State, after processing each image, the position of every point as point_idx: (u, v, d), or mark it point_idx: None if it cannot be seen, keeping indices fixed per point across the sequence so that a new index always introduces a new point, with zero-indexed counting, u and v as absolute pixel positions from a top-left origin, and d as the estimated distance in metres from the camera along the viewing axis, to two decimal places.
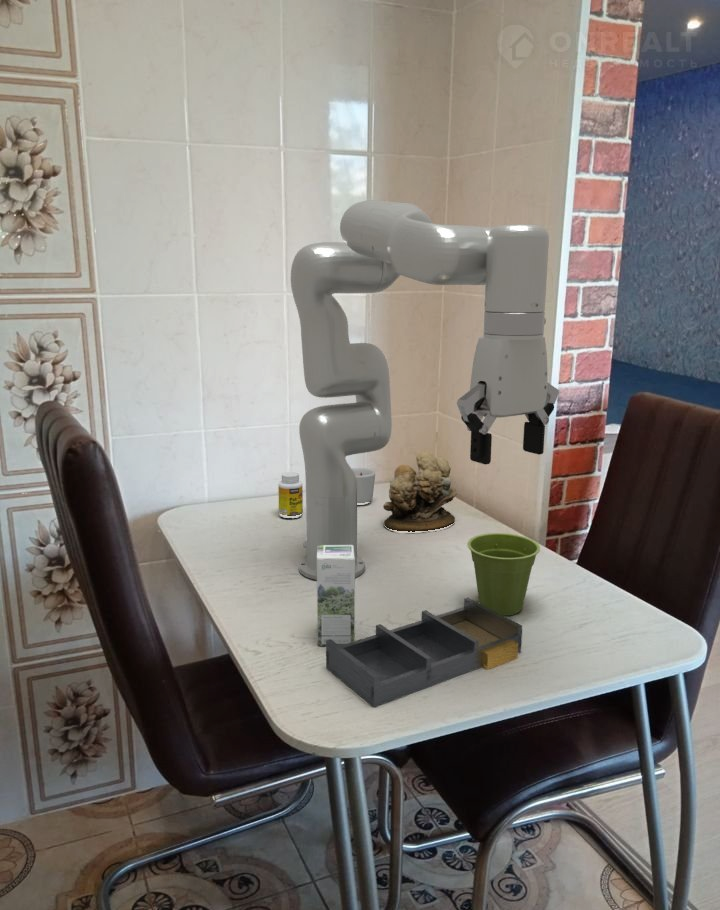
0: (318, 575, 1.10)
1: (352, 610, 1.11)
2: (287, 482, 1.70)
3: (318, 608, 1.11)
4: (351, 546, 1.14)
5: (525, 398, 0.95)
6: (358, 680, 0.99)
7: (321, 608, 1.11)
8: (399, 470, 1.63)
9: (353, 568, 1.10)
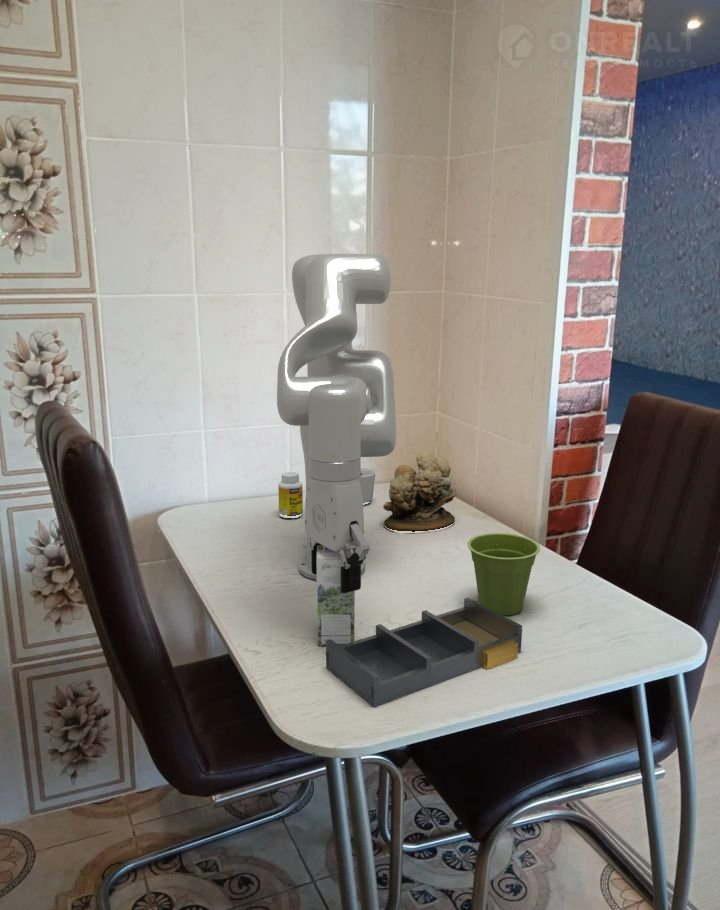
0: (318, 575, 1.10)
1: (352, 610, 1.11)
2: (287, 482, 1.70)
3: (318, 608, 1.11)
4: None
5: None
6: (358, 680, 0.99)
7: (321, 607, 1.11)
8: (399, 470, 1.63)
9: None
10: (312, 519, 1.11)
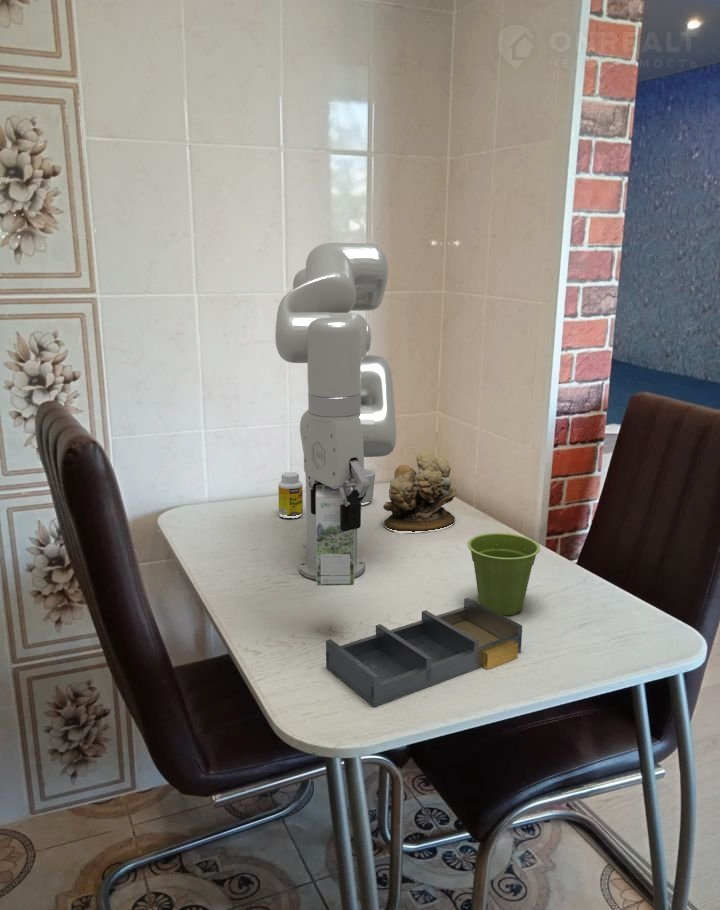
0: (317, 513, 1.09)
1: (351, 549, 1.10)
2: (287, 482, 1.70)
3: (317, 547, 1.10)
4: None
5: None
6: (358, 680, 0.99)
7: (320, 547, 1.10)
8: (399, 470, 1.63)
9: None
10: (311, 457, 1.09)
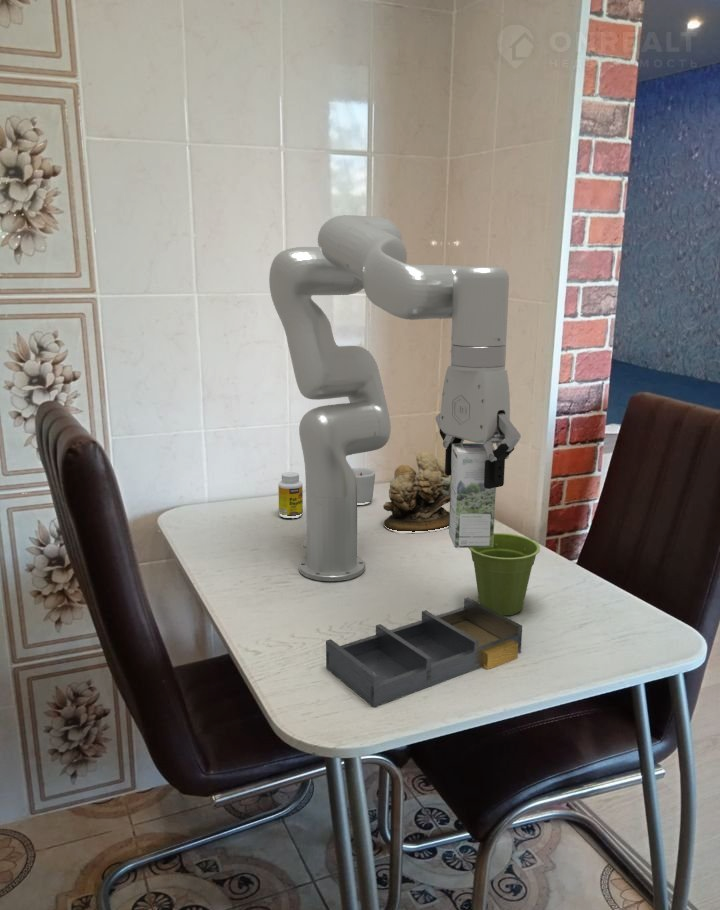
0: (458, 470, 1.04)
1: (492, 508, 1.06)
2: (287, 482, 1.70)
3: (457, 506, 1.06)
4: None
5: None
6: (358, 680, 0.99)
7: (460, 506, 1.06)
8: (399, 470, 1.63)
9: None
10: (451, 413, 1.05)
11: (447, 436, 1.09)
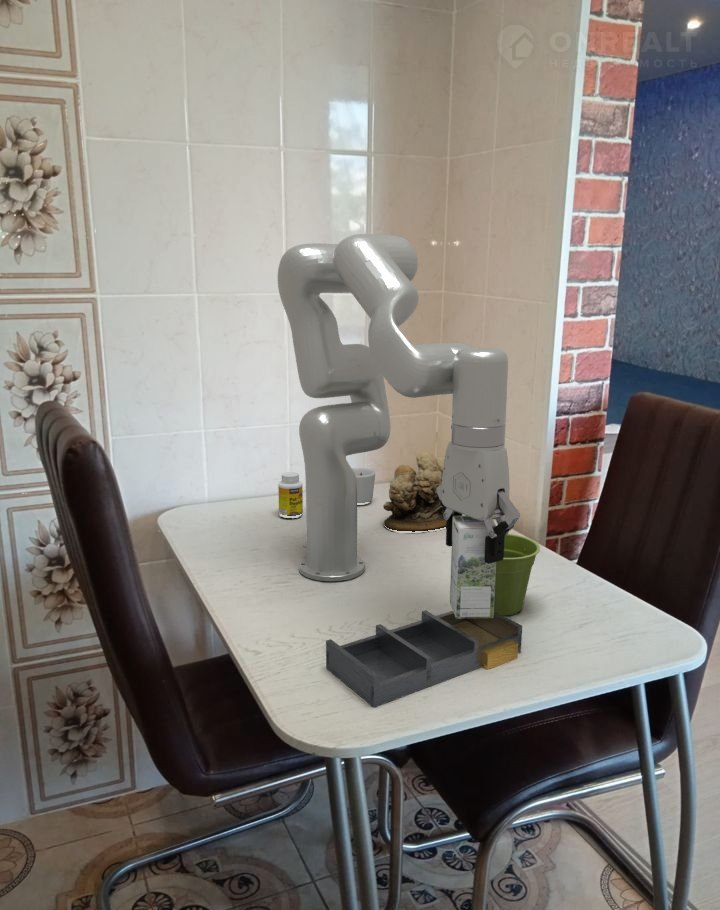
0: (459, 545, 1.07)
1: (493, 581, 1.08)
2: (287, 482, 1.70)
3: (458, 579, 1.08)
4: None
5: None
6: (358, 680, 0.99)
7: (461, 579, 1.08)
8: (399, 470, 1.63)
9: None
10: (452, 488, 1.08)
11: (448, 508, 1.12)
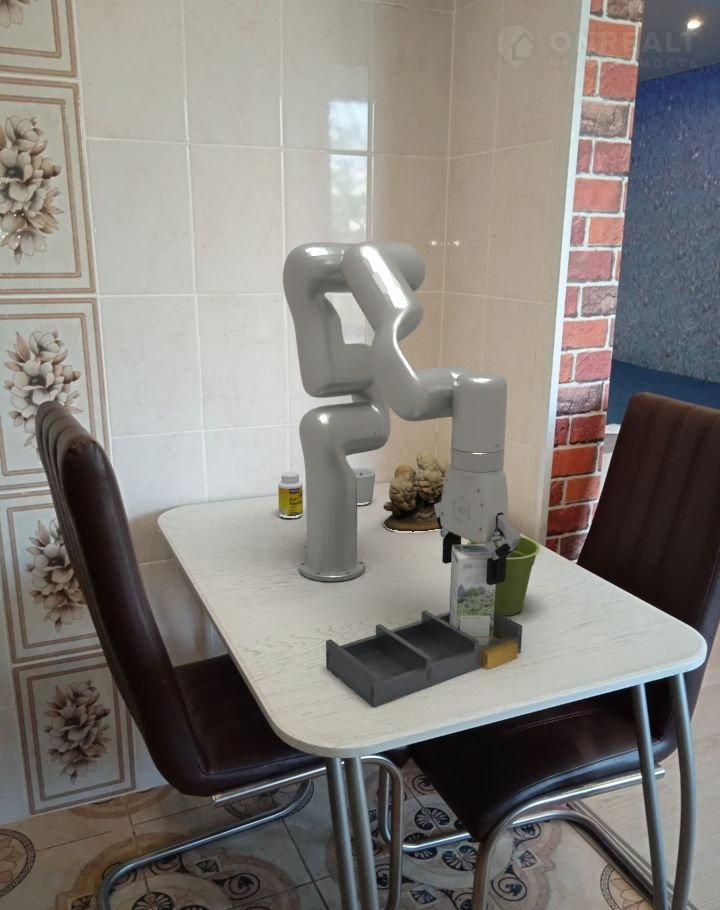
0: (459, 575, 1.08)
1: (491, 610, 1.09)
2: (287, 482, 1.70)
3: (457, 609, 1.09)
4: None
5: None
6: (358, 680, 0.99)
7: (460, 608, 1.09)
8: (399, 470, 1.63)
9: None
10: (451, 511, 1.09)
11: None
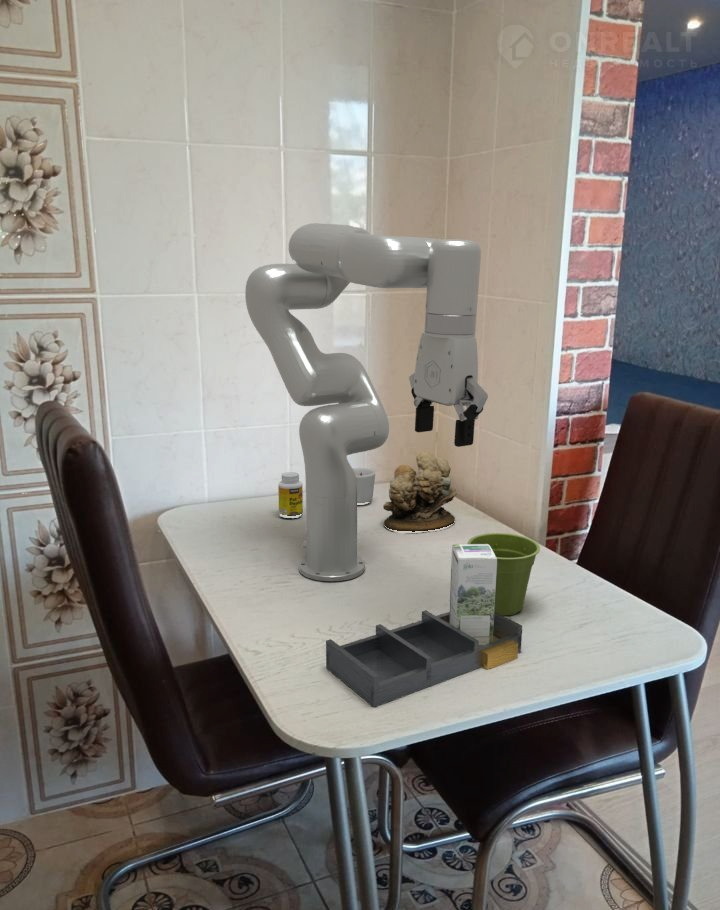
0: (459, 575, 1.08)
1: (492, 610, 1.09)
2: (287, 482, 1.70)
3: (457, 609, 1.09)
4: (488, 545, 1.11)
5: None
6: (358, 680, 0.99)
7: (461, 608, 1.09)
8: (399, 470, 1.63)
9: (495, 568, 1.08)
10: (424, 377, 1.13)
11: None
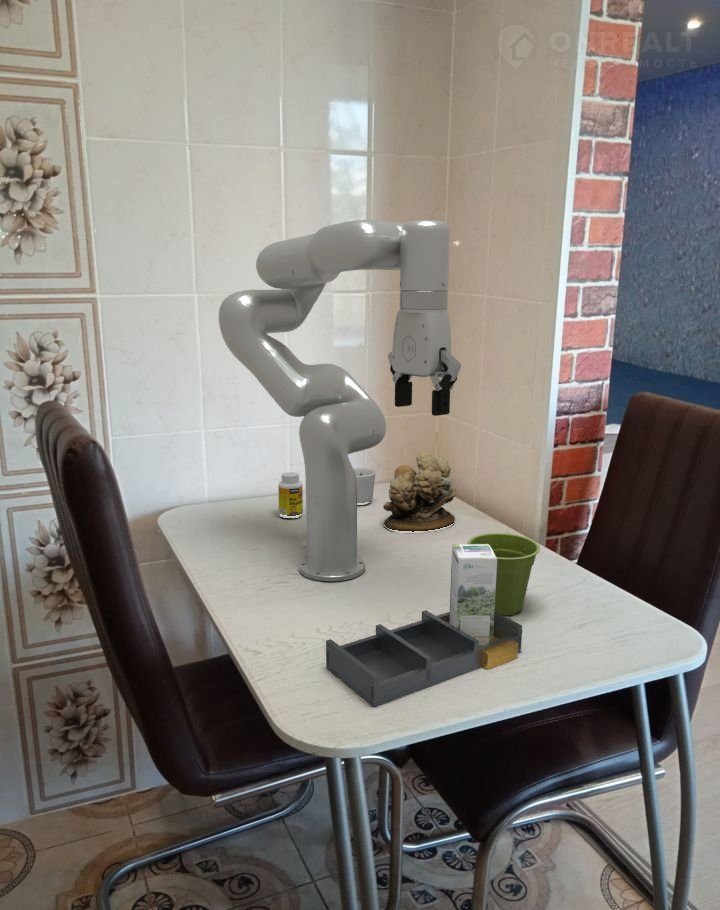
0: (459, 575, 1.08)
1: (492, 610, 1.09)
2: (287, 482, 1.70)
3: (457, 609, 1.09)
4: (488, 545, 1.11)
5: None
6: (358, 680, 0.99)
7: (461, 608, 1.09)
8: (399, 470, 1.63)
9: (495, 568, 1.08)
10: (401, 352, 1.19)
11: (397, 372, 1.23)
